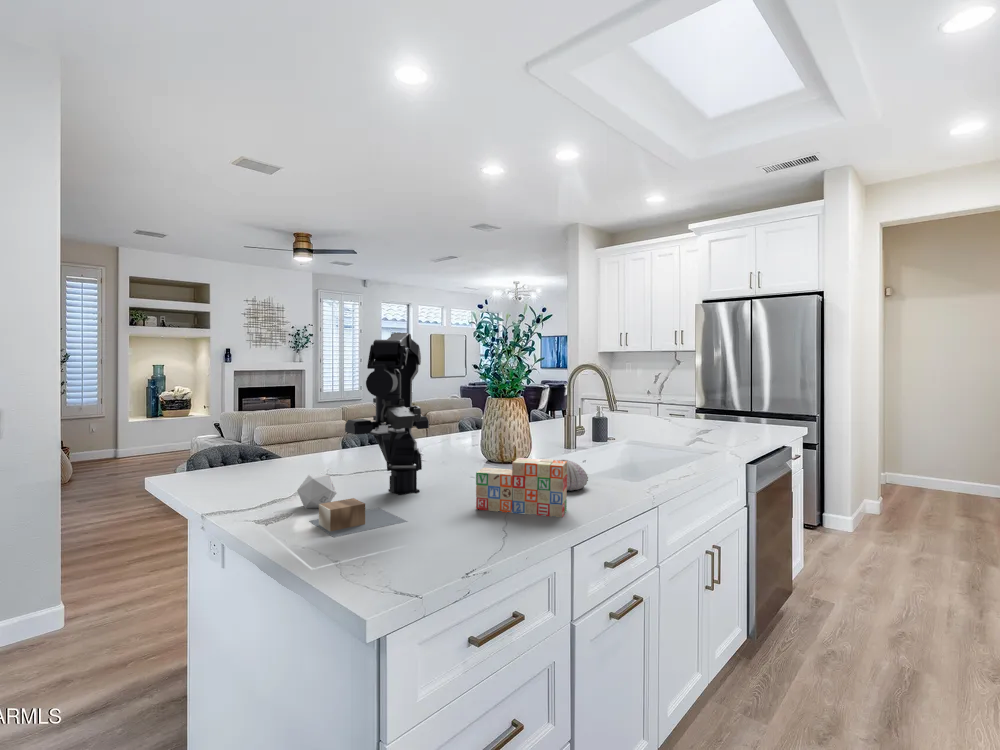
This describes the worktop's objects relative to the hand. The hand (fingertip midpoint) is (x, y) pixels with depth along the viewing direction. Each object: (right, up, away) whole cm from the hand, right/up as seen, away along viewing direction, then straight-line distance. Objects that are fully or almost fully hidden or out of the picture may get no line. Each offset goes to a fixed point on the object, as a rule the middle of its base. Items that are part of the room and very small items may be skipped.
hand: (388, 461), depth 122 cm
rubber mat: (-6, -13, -4) cm, 15 cm away
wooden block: (-6, -10, -4) cm, 12 cm away
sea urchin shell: (+44, -13, +29) cm, 54 cm away
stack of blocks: (+31, -13, +6) cm, 34 cm away
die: (-19, -13, +8) cm, 24 cm away
